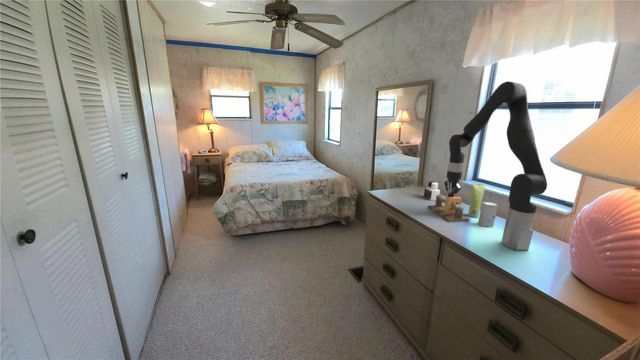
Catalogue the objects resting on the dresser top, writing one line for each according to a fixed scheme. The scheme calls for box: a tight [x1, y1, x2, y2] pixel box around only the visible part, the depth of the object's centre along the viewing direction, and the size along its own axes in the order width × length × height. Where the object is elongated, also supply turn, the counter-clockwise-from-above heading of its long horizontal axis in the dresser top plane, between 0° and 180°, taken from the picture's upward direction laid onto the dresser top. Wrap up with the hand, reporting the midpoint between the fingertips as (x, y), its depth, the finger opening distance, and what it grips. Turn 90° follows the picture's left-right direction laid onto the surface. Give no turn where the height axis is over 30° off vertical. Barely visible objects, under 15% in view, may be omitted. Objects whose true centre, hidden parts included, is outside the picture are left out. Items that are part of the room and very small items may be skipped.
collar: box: [444, 196, 463, 213], centre depth 146 cm, size 2×8×8 cm, turn 97°
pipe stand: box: [427, 194, 470, 223], centre depth 151 cm, size 22×12×9 cm, turn 7°
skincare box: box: [477, 201, 498, 228], centre depth 137 cm, size 6×4×12 cm
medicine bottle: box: [423, 181, 441, 201], centre depth 178 cm, size 7×7×12 cm
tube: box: [467, 183, 487, 218], centre depth 148 cm, size 6×5×20 cm
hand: (450, 199), depth 149 cm, fingers closed
